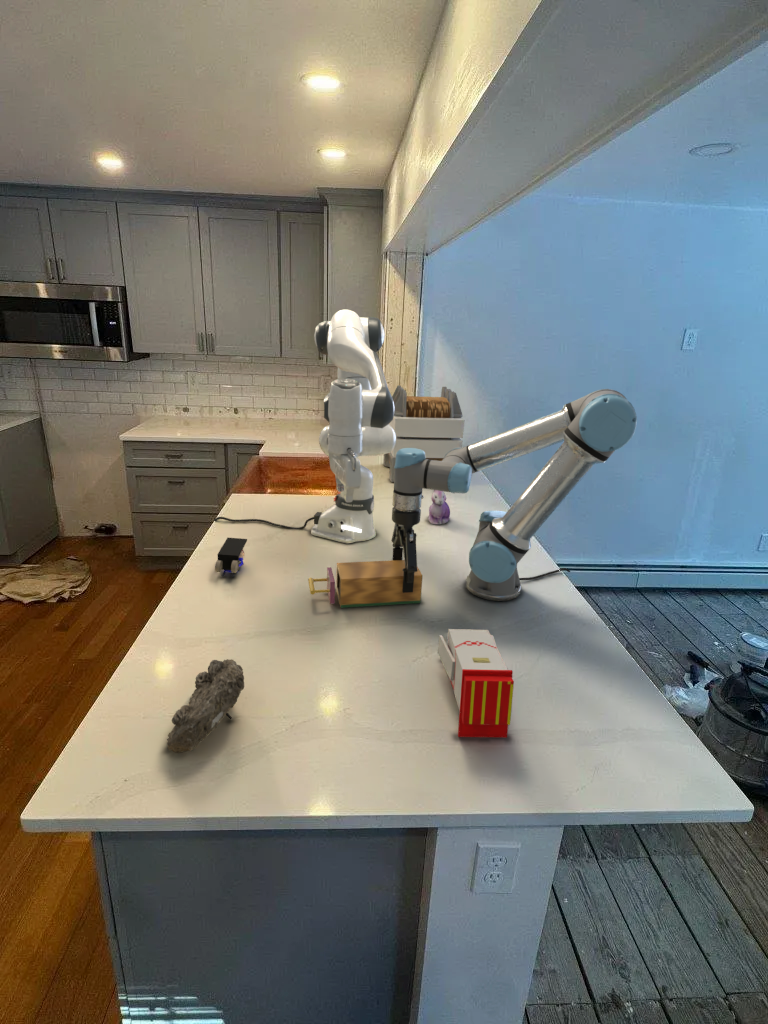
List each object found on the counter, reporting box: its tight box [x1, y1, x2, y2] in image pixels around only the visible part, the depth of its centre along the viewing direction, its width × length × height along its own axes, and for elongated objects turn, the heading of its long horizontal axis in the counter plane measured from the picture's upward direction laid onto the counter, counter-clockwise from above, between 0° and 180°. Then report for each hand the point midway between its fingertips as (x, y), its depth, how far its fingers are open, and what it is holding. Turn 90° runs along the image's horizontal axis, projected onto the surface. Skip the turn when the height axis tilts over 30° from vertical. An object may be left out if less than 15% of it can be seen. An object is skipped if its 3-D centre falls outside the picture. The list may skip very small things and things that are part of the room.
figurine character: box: [214, 537, 248, 578], centre depth 166 cm, size 7×8×15 cm
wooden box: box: [335, 559, 423, 609], centre depth 155 cm, size 22×10×8 cm, turn 101°
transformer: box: [383, 384, 465, 483], centre depth 268 cm, size 34×33×41 cm
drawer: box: [307, 566, 341, 605], centre depth 153 cm, size 26×9×6 cm, turn 101°
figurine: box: [427, 490, 451, 525], centre depth 211 cm, size 9×10×15 cm
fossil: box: [166, 658, 245, 754], centre depth 106 cm, size 22×10×15 cm
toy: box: [437, 628, 515, 738], centre depth 117 cm, size 12×13×30 cm
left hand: (344, 496), depth 149 cm, fingers open, 8 cm apart
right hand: (401, 580), depth 156 cm, fingers open, 13 cm apart
